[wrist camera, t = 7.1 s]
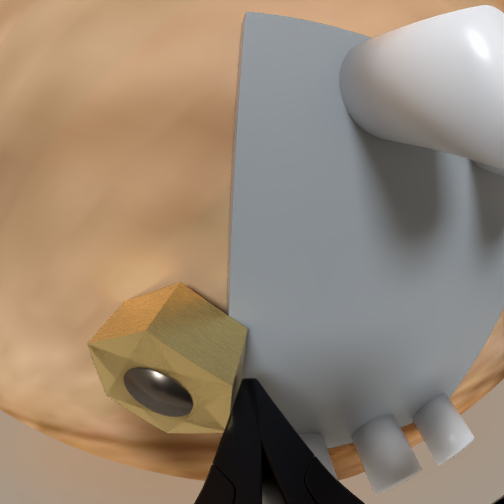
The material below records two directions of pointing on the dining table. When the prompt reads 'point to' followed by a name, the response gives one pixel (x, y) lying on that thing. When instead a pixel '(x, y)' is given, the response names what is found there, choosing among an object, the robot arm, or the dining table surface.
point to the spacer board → (368, 227)
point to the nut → (172, 360)
